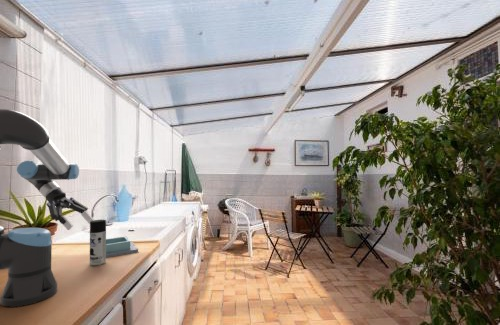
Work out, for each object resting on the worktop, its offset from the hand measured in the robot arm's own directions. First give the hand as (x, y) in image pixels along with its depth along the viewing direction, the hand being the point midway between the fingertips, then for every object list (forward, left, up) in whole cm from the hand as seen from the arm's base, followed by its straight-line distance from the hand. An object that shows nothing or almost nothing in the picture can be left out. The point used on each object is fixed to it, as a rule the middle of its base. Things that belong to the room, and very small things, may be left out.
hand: (81, 224), depth 126 cm
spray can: (+6, -6, -18) cm, 20 cm away
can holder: (+15, +11, -18) cm, 26 cm away
